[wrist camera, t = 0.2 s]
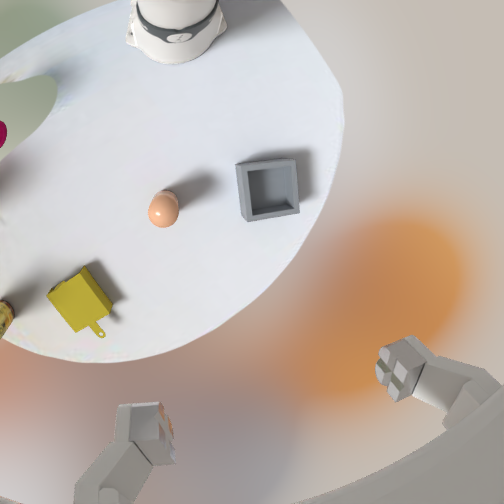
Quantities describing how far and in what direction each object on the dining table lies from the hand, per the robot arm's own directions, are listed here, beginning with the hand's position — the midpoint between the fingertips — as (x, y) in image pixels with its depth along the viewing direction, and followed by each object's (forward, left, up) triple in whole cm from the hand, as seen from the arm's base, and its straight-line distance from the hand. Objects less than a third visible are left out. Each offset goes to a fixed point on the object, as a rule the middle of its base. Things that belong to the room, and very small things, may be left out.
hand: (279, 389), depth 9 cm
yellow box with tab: (+19, -28, -48) cm, 59 cm away
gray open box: (+2, +13, -48) cm, 49 cm away
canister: (+2, -6, -48) cm, 48 cm away
